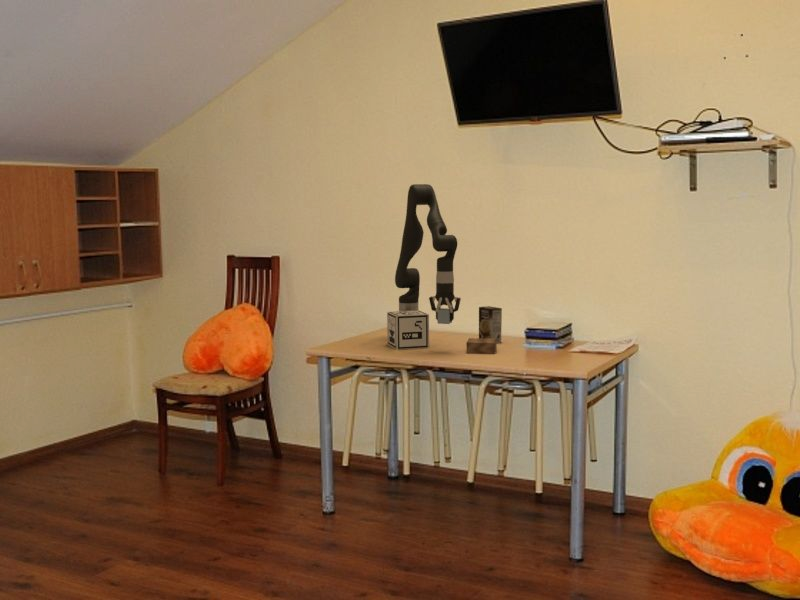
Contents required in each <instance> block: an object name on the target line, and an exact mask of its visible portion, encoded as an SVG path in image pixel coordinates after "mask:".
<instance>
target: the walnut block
mask: <svg viewBox="0 0 800 600" xmlns="http://www.w3.org/2000/svg"><path fill="white" fill-rule="evenodd" d="M497 344H498V343H497V339H483V338H479V337H476V338H475V337H469V338H468V340H466V354H477V355H478V354H482V355H484V354H485V355H495V354H496V351H497Z"/></svg>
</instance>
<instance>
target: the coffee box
mask: <svg viewBox="0 0 800 600" xmlns="http://www.w3.org/2000/svg"><path fill="white" fill-rule="evenodd" d="M502 309H503V308H501V307H495V306H490V305H489V306H487V305H486V306H479V307H478V338H483V339H497V344H501V343H502V319H503V318H502V316H503V315H502V314H503V313H502V311H503V310H502Z"/></svg>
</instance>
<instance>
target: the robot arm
mask: <svg viewBox="0 0 800 600" xmlns="http://www.w3.org/2000/svg"><path fill="white" fill-rule="evenodd" d="M406 200H407V202H406V213H405V214H406V215H405V221H404V228H403V232H402V238H401V239H402V240H401V245H400V253H399V258H398V262H397V267H396V270H395V276H394V284H395V286H396V287H397V288H399V289H408V290H407V291H406V292H405V293H404V294H402V295H400V296H399V297H398V311H417V310H419V311H420V309H419V297H420V279H421V277H420V271H419V270H418V269H417V268H415V267H411V268H410V267H408V266H409V263H410V262H411V260H412V259H413V258H414V257H415V255H416V254H417V253H418V252H419V250H420V249H421V247H422V244H423V240H424V232H425V231H424V229H423V226H422V224H421V222H420V221H419V217H418V215H417V206H425V205H426V206H428V207H429V211H428V214H427V217H426V225H427V227H428V229H429V231H430V234H431V240H432V241H431V242H432V248H433V249H434V250H435V251H436V252H438V253H439V252H440V253H441V252H446V253H445V255H444V256H441V257H440V256H439V257H438V258H437V259H436V276H435V282H436V283H435V286H436V287H435V292H436V293H435V295H433V296H430V297H429V296H428V297H429V298H428V301H429V304H430V305H429V306H430V308H431V311H432V312H433V311H434V312H435V320H436V321H437V322H438V309H440V308H442V306H447V309H449V310H450V321H452V322H453V321H454V319H455V312H458V311H459V308H460V304H461V301H462V298H461V297H457V296H455V294H454V293H455V292H454V291H455V290H454V289H455V287H454V286H455V285H454V283H455V279H454V278H455V277H454V260H455V259H454V258H455V256H456V252H457V248H458V239H457V237H456V236H455V235H453V234H447V233H448V229H447V225H446V224H445V222H444V219H443V217H442V214H441V211H440V209H439V207H440V206H439V204H438V199H437V195H436V191H435V189H434V188H433V186H432V185H431V184H428V183H427V184H425V183H424V184H422V183H417V184H416V183H415V184H411V185H410V186H409V188H408V191H407V199H406ZM435 301H437V305H436V304H435ZM453 301H454V303H455V305H453Z"/></svg>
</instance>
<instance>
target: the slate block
mask: <svg viewBox="0 0 800 600" xmlns="http://www.w3.org/2000/svg"><path fill="white" fill-rule="evenodd" d="M452 322H453V320H452V321H450V310H449V308H448V307H447V308H444V307H441V308H440V309H438V321H437V324H439V325H440V324H441V325H450V324H451V323H452Z"/></svg>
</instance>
